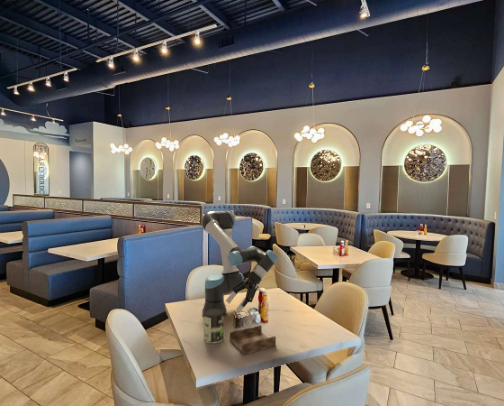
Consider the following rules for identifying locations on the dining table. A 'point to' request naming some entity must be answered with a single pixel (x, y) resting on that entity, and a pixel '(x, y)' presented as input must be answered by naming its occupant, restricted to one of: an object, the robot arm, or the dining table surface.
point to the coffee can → (213, 325)
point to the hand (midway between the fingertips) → (232, 306)
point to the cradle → (251, 340)
